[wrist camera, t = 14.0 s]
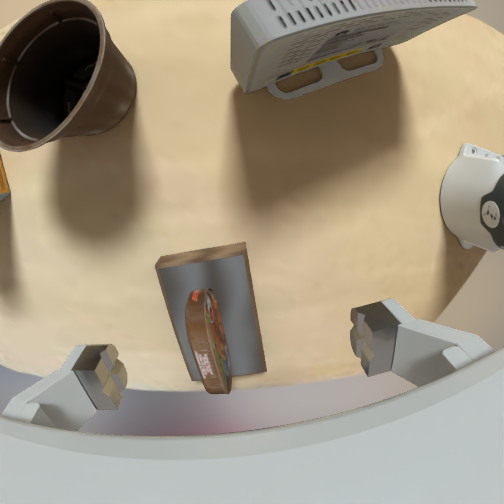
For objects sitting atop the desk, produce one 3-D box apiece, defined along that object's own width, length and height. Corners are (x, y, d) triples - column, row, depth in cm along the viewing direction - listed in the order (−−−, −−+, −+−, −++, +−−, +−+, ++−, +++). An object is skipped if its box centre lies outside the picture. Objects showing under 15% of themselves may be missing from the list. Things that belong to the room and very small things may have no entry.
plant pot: (39, 84, 30) (-29, 68, 15) (127, 22, 29) (81, -30, 14) (74, 170, 36) (2, 184, 20) (169, 109, 34) (130, 81, 19)
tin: (233, 366, 43) (234, 406, 35) (212, 368, 43) (210, 409, 35) (212, 276, 38) (207, 308, 30) (188, 279, 38) (178, 312, 30)
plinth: (245, 242, 41) (246, 251, 37) (264, 357, 47) (267, 373, 43) (160, 256, 41) (154, 266, 37) (193, 367, 47) (191, 382, 43)
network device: (377, 14, 31) (452, -40, 12) (404, 62, 33) (494, 29, 15) (222, 62, 33) (216, -15, 14) (252, 116, 36) (275, 79, 17)
